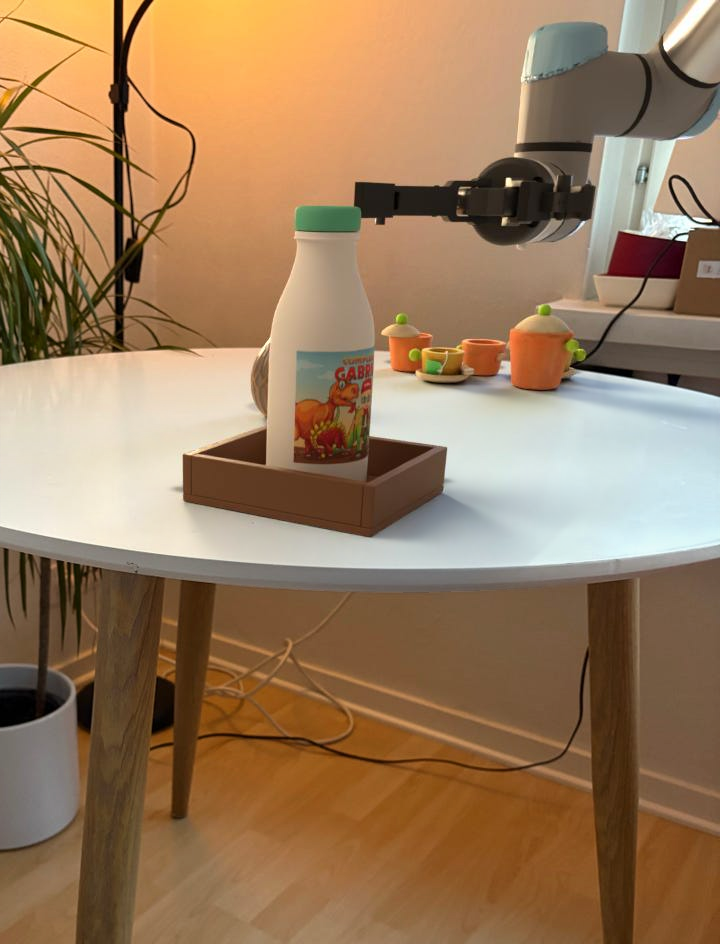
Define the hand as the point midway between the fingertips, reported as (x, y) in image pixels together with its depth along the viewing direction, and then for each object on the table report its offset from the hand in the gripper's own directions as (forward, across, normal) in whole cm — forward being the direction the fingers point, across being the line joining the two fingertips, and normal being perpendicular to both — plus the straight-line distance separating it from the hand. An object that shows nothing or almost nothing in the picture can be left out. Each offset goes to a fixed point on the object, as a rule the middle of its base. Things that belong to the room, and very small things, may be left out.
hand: (437, 200), depth 77 cm
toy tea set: (-46, +10, -21) cm, 52 cm away
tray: (+14, +3, -21) cm, 25 cm away
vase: (-12, +20, -21) cm, 31 cm away
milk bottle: (+14, +3, -21) cm, 25 cm away
